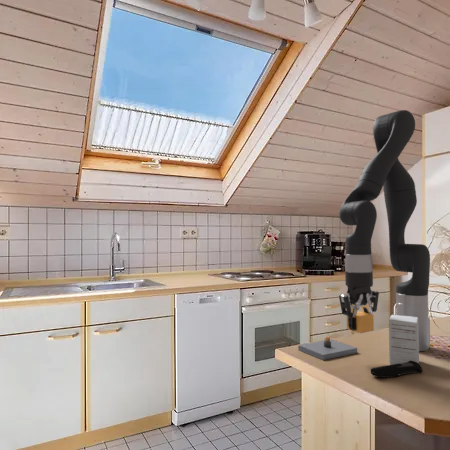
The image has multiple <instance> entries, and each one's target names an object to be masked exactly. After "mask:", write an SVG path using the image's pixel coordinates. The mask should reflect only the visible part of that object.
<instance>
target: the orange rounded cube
mask: <svg viewBox="0 0 450 450" xmlns="http://www.w3.org/2000/svg"><path fill="white" fill-rule="evenodd" d="M374 324H375V323H374V314H373V313H372V314H369V313H365V312H363V311H360V310H357V314H356V325H357V330H355V331H353V330H350V329H349V326H348V316H347V315H346V330H349V331H352V332H356V333H359V334H364V333H368V332H373V331H374V330H375V327H374V326H375V325H374Z"/></svg>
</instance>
